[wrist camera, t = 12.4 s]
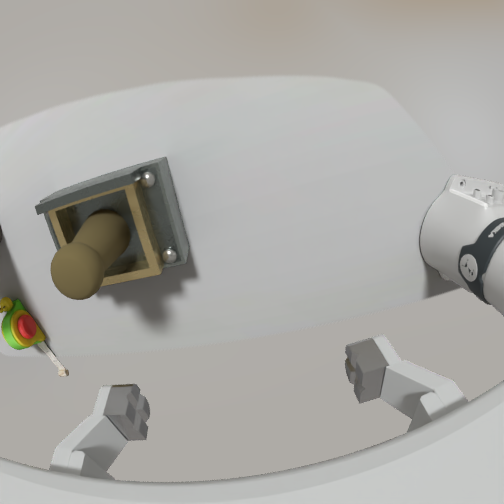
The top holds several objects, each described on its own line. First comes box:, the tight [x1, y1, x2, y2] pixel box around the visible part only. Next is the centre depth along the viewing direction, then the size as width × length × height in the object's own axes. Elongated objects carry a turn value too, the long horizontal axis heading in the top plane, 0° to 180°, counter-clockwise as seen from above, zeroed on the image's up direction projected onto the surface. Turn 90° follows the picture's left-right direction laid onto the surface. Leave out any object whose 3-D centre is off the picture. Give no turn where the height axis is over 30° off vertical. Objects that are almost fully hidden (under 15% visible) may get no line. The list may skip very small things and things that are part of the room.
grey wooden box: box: [35, 157, 189, 287], centre depth 33 cm, size 16×12×9 cm
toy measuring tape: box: [0, 297, 69, 377], centre depth 40 cm, size 6×19×7 cm, turn 17°
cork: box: [51, 209, 130, 300], centre depth 27 cm, size 6×6×11 cm
